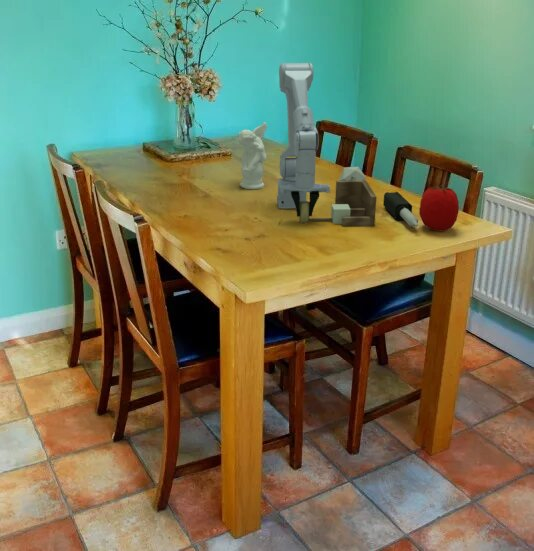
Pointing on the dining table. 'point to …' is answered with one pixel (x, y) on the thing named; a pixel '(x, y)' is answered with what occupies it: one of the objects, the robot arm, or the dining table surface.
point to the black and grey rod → (399, 208)
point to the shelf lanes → (357, 202)
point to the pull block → (336, 218)
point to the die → (352, 174)
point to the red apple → (439, 208)
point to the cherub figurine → (252, 157)
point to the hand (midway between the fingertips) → (304, 215)
